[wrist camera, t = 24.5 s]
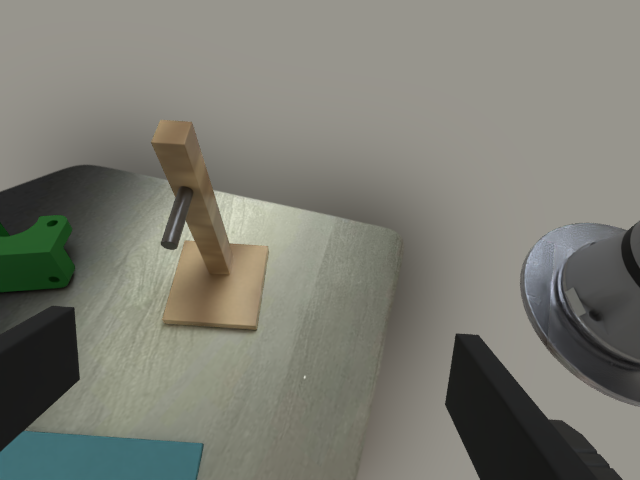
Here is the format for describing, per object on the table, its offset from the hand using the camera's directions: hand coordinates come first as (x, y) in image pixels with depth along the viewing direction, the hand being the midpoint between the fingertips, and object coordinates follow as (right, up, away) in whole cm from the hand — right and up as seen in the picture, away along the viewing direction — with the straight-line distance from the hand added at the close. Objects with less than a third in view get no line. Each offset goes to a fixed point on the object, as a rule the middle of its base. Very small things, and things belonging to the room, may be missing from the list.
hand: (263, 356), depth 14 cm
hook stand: (-10, -1, +32) cm, 33 cm away
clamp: (-32, +1, +32) cm, 45 cm away
